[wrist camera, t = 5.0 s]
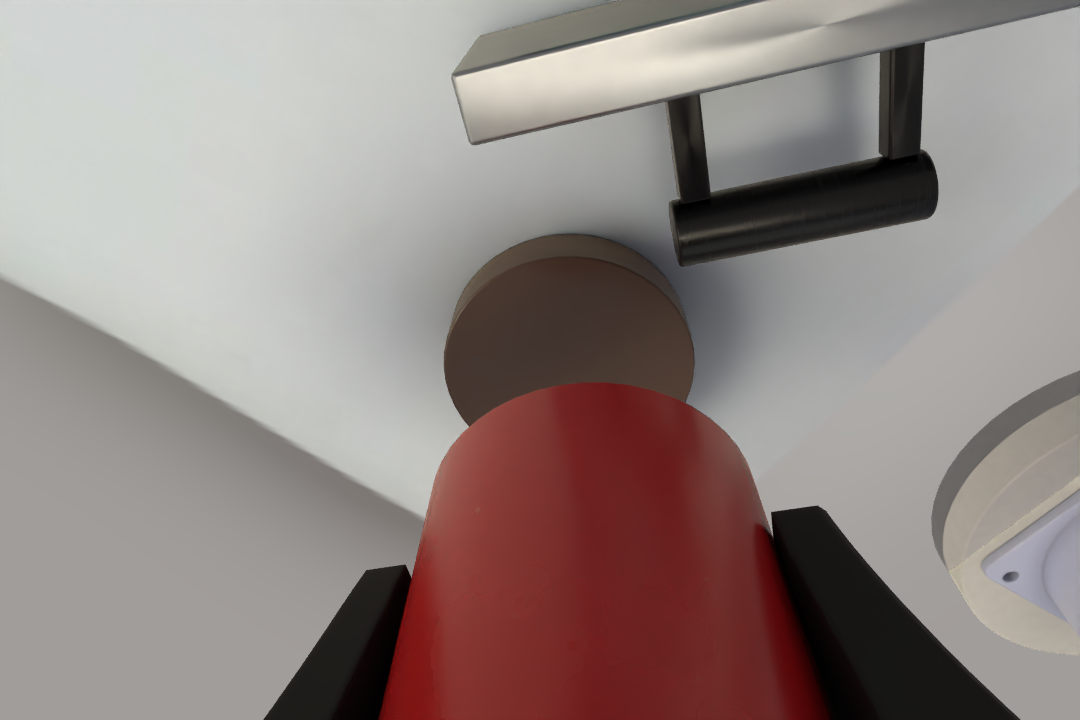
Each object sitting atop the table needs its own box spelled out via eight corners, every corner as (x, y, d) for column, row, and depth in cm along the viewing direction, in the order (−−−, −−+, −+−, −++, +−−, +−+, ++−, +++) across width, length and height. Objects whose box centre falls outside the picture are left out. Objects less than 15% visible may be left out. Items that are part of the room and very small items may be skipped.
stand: (736, 313, 20) (748, 340, 18) (598, 469, 23) (601, 502, 21) (529, 185, 18) (526, 206, 17) (410, 373, 21) (400, 402, 20)
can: (825, 479, 11) (1124, 1123, 5) (628, 655, 14) (679, 1237, 8) (541, 317, 10) (504, 933, 4) (378, 544, 12) (198, 1145, 6)
